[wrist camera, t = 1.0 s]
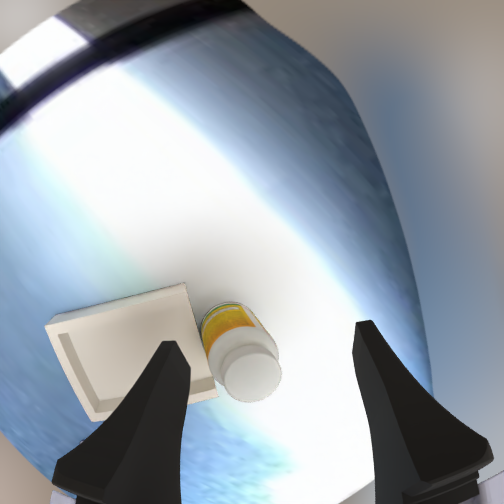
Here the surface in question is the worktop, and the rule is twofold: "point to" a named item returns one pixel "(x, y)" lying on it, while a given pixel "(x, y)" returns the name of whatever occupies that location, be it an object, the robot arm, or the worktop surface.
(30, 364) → the worktop surface
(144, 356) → the tray
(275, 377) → the supplement bottle
